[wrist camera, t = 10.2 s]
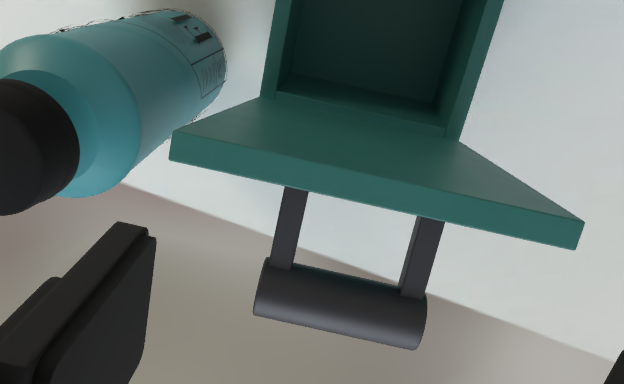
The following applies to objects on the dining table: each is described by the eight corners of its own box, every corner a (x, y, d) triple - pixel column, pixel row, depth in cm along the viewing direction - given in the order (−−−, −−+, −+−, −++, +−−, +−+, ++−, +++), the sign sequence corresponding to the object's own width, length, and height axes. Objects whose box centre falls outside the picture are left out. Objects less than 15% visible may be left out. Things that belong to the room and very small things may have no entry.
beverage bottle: (246, 24, 33) (101, 84, 15) (221, 124, 36) (71, 283, 17) (144, -9, 33) (-134, 9, 14) (127, 94, 35) (-129, 222, 17)
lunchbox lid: (171, 129, 13) (142, 322, 15) (586, 221, 13) (520, 406, 15) (258, 96, 27) (239, 196, 29) (460, 141, 27) (432, 239, 29)
